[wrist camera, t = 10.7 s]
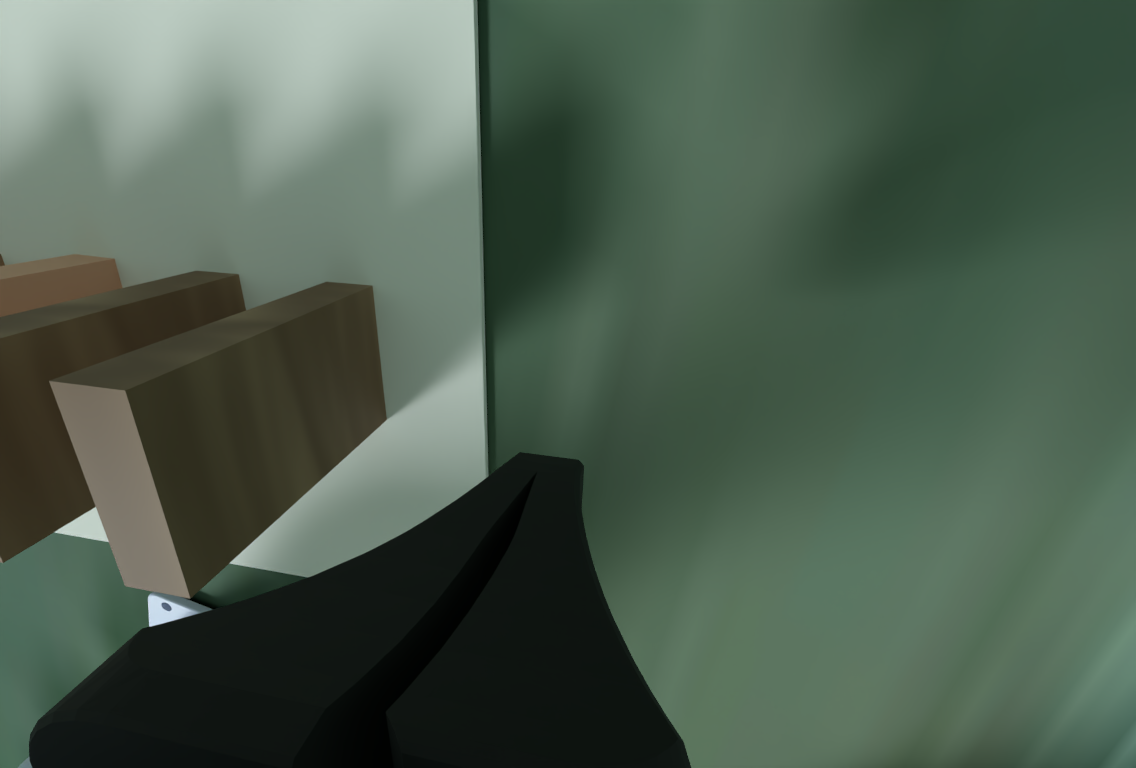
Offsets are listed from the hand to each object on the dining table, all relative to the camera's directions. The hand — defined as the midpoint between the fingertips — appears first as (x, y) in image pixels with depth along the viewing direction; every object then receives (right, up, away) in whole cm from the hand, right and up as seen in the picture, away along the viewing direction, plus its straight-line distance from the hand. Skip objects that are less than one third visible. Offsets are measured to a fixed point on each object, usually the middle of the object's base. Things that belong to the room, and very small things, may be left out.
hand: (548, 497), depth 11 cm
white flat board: (-16, +4, +9) cm, 19 cm away
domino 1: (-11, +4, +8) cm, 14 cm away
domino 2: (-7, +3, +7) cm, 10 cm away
